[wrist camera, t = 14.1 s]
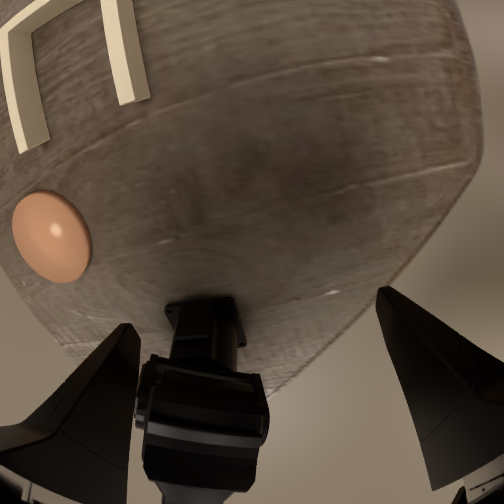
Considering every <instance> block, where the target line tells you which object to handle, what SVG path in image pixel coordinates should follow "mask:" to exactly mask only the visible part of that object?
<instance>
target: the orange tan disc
mask: <svg viewBox="0 0 504 504" xmlns="http://www.w3.org/2000/svg"><path fill="white" fill-rule="evenodd" d="M12 228H13V235H14V239H15V242H16V245H17V247H18V249H19V251H20V253H21V255H22V256H23V258H24V259H25V261H26V262H27V263H28V264H29V265H30V267H31V268H32V269H34V270H35V271H36V272H37V273H38V274H40V275H41V276H43V277H44V278H46V279H49V280H51V281H54V282H58V283H68V282H72V281H74V280H76V279H77V278H79V277H80V276H81V275H82V273H83V272H84V270H85V269H86V267H87V266H88V264H89V262H90V258H91V252H92V244H91V238H90V234H89V231H88V228H87V226H86V224H85V222H84V220H83V218H82V217H81V215H80V214H79V212H78V211H77V209H76V208H75V207H74V206H73V205H72V204H71V203H70V202H69V201H68V200H66V199H65V198H64V197H62V196H61V195H59V194H57V193H54V192H52V191H47V190H39V191H35V192H32V193H31V194H29V195H28V196H26V197H25V198H24V199H22V200H21V201H20V202H19V204H18V205H17V207H16V209H15V211H14V214H13V220H12Z"/></svg>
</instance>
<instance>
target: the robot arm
mask: <svg viewBox="0 0 504 504" xmlns="http://www.w3.org/2000/svg"><path fill="white" fill-rule="evenodd" d="M228 302H231V303H228ZM169 309H170V310H169ZM164 312H165V314H166V316H167V318H168V320H169V322H170V324H171V326H172V328H173V330H174V335H173V342H172V347H171V351H170V356H169V359H167V358H163V357H159V356H158V355H155V354H151V357H150V360H149V361H147V363H146V364H143V365H142V369H141V373H140V377H139V364H140V349H141V339H140V337H139V335H138V333H137V332H136V330H135V328H134V327H133V325H132V324H131V323H122V324H120V325H119V326H118V327H117V328H116V329H115V330H114V331H113V332H112V333H111V334H110V335H109V336H108V337H107V338H106V339H105V340H104V341H103V342H102V343H101V344H100V345H99V346H98V347H97V348H96V349H95V350H94V351H93V352H92V353H91V354H90V355H89V356H88V357H87V358H86V359H85V360H84V361H83V362H82V363H81V364H80V365H79V366H78V368H77V369H76V370H75V371H74V372H73V373H72V374H71V375H70V376H69V377H68V378H67V379H66V380H65V382H63V383H62V384H61V386H60V387H59V388H58V389H57V390H56V391H55V392H54V393H53V394H52V395H51V396H50V397H49V398H48V399H47V400H46V401H45V402H44V403H43V404H42V405H40V406H39V407H38V408H37V409H36V410H35V411H34V412H33V413H32V414H31V415H30V416H29V417H28V418H27V419H25V420H24V421H23V422H21V423H19V424H15V425H10V426H1V427H0V504H126V500H127V479H128V462H129V449H130V440H131V430H132V421H133V413H134V418H135V422H136V423H135V426H136V428H138V429H142V430H144V438H143V447H142V460H143V462H144V463H143V468H144V471H145V473H146V475H147V477H148V479H149V480H150V481H151V482H155V483H156V485H157V486H158V488H159V490H160V491H161V493H162V500H161V504H223V503H224V501H225V500H227V499H228V498H229V497H230V496H231V495H232V494H233V493H234V492H243V493H245V492H247V491H248V490H249V489H250V487H251V486H252V485H253V483H254V482H255V476H256V465H257V457H258V453H259V448H260V446H262V445H263V444H264V442H265V440H266V438H267V435H268V430H269V423H270V415H269V407H268V404H267V400H266V396H265V392H264V388H263V384H262V381H261V377H260V374H256V373H253V374H248V373H241V372H237V348H240V347H245V346H246V345H247V340H246V336H245V333H244V330H243V326H242V323H241V319H240V316H239V312H238V309H237V305H236V302H235V299H234V298H232V297H224V298H217V299H209V300H201V301H193V302H185V303H176V304H168V305H166V306H165V309H164ZM376 312H377V316H378V319H379V322H380V326H381V329H382V333H383V337H384V340H385V343H386V347H387V350H388V352H389V355H390V357H391V360H392V363H393V365H394V368H395V370H396V373H397V376H398V379H399V381H400V384H401V387H402V390H403V392H404V395H405V398H406V401H407V404H408V407H409V410H410V413H411V416H412V419H413V422H414V425H415V428H416V432H417V435H418V438H419V442H420V443H421V444H420V446H421V449H422V453H423V457H424V459H425V464H426V468H427V471H428V476H429V480H430V484H431V488H432V491H435V490H437V489H440V488H442V487H444V486H446V485H448V484H451V483H453V482H455V481H457V480H459V479H461V478H463V481H464V486H463V487H461V488H460V489H459V490H458V492H457V494H456V496H455V498H454V500H453V502H452V503H451V504H504V362H502V361H500V360H499V359H497V358H495V357H494V356H492V355H490V354H489V353H487V352H486V351H484V350H482V349H481V348H479V347H478V346H476V345H475V344H473V343H472V342H470V341H469V340H467V339H466V338H465V337H463V336H462V335H459V333H458V332H456V331H455V330H454V329H452V328H451V327H449V326H448V325H446V324H445V323H444V322H442V321H441V320H439V319H438V318H436V317H435V316H433V315H432V314H431V313H429V312H428V311H426V310H425V309H423V308H422V307H420V306H419V305H418V304H416V303H415V302H413V301H411V300H410V299H409V298H407V297H406V296H404V295H403V294H401V293H400V292H398V291H397V290H395V289H394V288H392V287H391V286H385V287H380V288H379V289H378V292H377V298H376ZM138 378H139V380H138Z"/></svg>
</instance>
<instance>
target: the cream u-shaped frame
mask: <svg viewBox="0 0 504 504" xmlns="http://www.w3.org/2000/svg"><path fill="white" fill-rule="evenodd" d="M82 1H84V0H35V1H34V2H33V3H31V4H30V5H28V6H27V7H26V8H25V9H23V10H22V11H21V12H19V13H18V14H17V15H16V16H14V17H13V18H12V19H11V20H10V21H9V22H7V23H6V24H5V25H4V26H3V27H2V28H0V54H1V65H2V73H3V81H4V87H5V93H6V99H7V104H8V109H9V114H10V119H11V123H12V127H13V131H14V135H15V139H16V143H17V146H18V150H19V153H20V154H21V153H23V152H25V151H27V150H30V149H32V148H34V147H36V146H38V145H41V144H43V143H45V142H47V141H48V140H50V139H51V138H50V135H49V131H48V127H47V123H46V119H45V115H44V111H43V107H42V102H41V97H40V93H39V87H38V82H37V76H36V70H35V63H34V56H33V48H32V38H31V33H32V32H34V31H35V30H37V29H38V28H39V27H41V26H42V25H44V24H45V23H47V22H48V21H50V20H51V19H53V18H54V17H56V16H58V15H59V14H61V13H63V12H64V11H66V10H68V9H69V8H71V7H73V6H74V5H76V4H78V3H80V2H82ZM101 8H102V15H103V22H104V29H105V35H106V41H107V47H108V53H109V58H110V63H111V68H112V73H113V78H114V82H115V87H116V91H117V96H118V100H119V104H120V105H125V104H130V103H136V102H139V101H142V100H145V99H149V98H151V95H150V91H149V86H148V82H147V77H146V73H145V68H144V63H143V58H142V53H141V48H140V43H139V37H138V32H137V26H136V21H135V15H134V8H133V2H132V0H101Z"/></svg>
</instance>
